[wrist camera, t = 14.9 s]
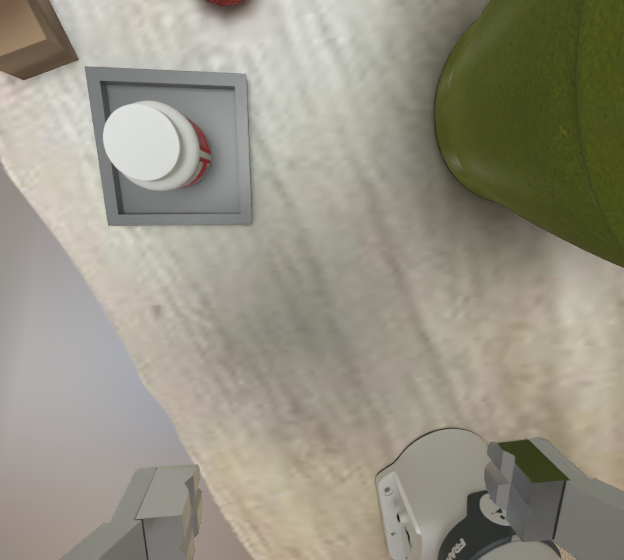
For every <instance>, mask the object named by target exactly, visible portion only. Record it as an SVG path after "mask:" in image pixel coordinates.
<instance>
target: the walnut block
mask: <svg viewBox="0 0 624 560" xmlns="http://www.w3.org/2000/svg"><path fill="white" fill-rule="evenodd" d="M77 60H79V59H78V57H77V55H76V53H75V51H74V49H73V47H72V45H71V43H70V41H69V39H68V37H67V35H66V33H65V31H64V29H63V27H62V25H61V23H60V21H59V19H58V17H57V15H56V13H55V11H54V9H53V7H52V5H51V3H50V1H49V0H0V71H3V72H5V73H8V74H10V75H13V76H15V77H18V78H20V79H22V80H25V79H28V78H31V77H33V76H36V75H39V74H42V73H44V72H47V71H50V70H52V69H55V68H58V67H61V66H63V65H66V64H69V63H71V62H74V61H77Z"/></svg>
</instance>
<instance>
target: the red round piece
mask: <svg viewBox="0 0 624 560" xmlns="http://www.w3.org/2000/svg"><path fill="white" fill-rule="evenodd" d="M207 1H209V2H212V3H215V4H218V5H221V6H227V5H236V4H238V3H240V2H242V1H243V0H207Z"/></svg>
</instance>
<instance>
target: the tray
mask: <svg viewBox="0 0 624 560" xmlns="http://www.w3.org/2000/svg"><path fill="white" fill-rule="evenodd" d="M85 72H86V79H87V85H88V92H89V99H90V106H91V113H92V119H93V126H94V133H95V140H96V146H97V153H98V160H99V167H100V174H101V180H102V187H103V194H104V201H105V207H106V214H107V221H108V226H131V225H238V224H252V205H251V178H250V151H249V125H248V98H247V78H246V74H238V73H216V72H195V71H173V70H152V69H130V68H109V67H87V66H85ZM139 101H157V102H161V103H164V104H167V105H169V106H171V107H173V108H175V109H176V110H178V111H179V112H181V113H182V114H183V115H184V116H186V117H187V118H188V119H190V120H191V121H192V122H194V123H195V124H196V125H197V126H198V127H199V128H200V129H201V130H202V131H203V132H204V134H205V135H206V137H207V139H208V141H209V143H210V146H211V151H212V160H211V166H210V169H209V171H208V173H207V174H206V176H205V177H204V178H203V179H202V180H201V181H200V182H198V183H197V184H195V185H192V186H190V187H186V188H180V189H174V190H168V191H153V190H148V189H145V188H143V187H140V186H138V185H136V184H134V183H133V182H132V181H130V180H129V179H128V178H127V177H125V176H124V175H123V173H122V172H121V171H119V170H118V169H117V168H116V167H115V166H114V165H113V163H112V162H111V161H110V159H109V157H108V155H107V153H106V151H105V148H104V143H103V131H104V126H105V124H106V121H107V119H108V118H109V117H110V115H111V114H112V113H113V112H114V111H115V110H117V109H118V108H120V107H122V106H124V105H128V104H133V103H136V102H139Z"/></svg>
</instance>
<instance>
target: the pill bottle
mask: <svg viewBox="0 0 624 560" xmlns="http://www.w3.org/2000/svg"><path fill="white" fill-rule="evenodd" d="M103 143H104V148H105V151H106V153H107V155H108V157H109V159H110V161H111V162H112V163H113V165H114V166H115V167H116V168H117V169H118V170H119V171H121V172H122V173H123V175H124V176H125V177H127V178H128V179H129V180H130V181H132V182H133V183H134V184H136V185H138V186H140V187H143V188H145V189H148V190H153V191H168V190H174V189H180V188H186V187H190V186H192V185H195V184H197V183H198V182H200V181H201V180H202V179H203V178H204V177H205V176H206V174H207V173H208V171H209V169H210V166H211V160H212V151H211V146H210V143H209V141H208V139H207V137H206V135H205V134H204V132H203V131H202V130H201V129H200V128H199V127H198V126H197V125H196V124H195V123H194V122H192V121H191V120H190V119H188V118H187V117H186V116H184V115H183V114H182V113H181V112H179V111H178V110H176V109H175V108H173V107H171V106H169V105H167V104H164V103H161V102H157V101H139V102H136V103H133V104H128V105H124V106H122V107H120V108H118V109H117V110H115V111H114V112H113V113H112V114H111V115H110V117H109V118H108V119H107V121H106V124H105V126H104V131H103Z"/></svg>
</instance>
